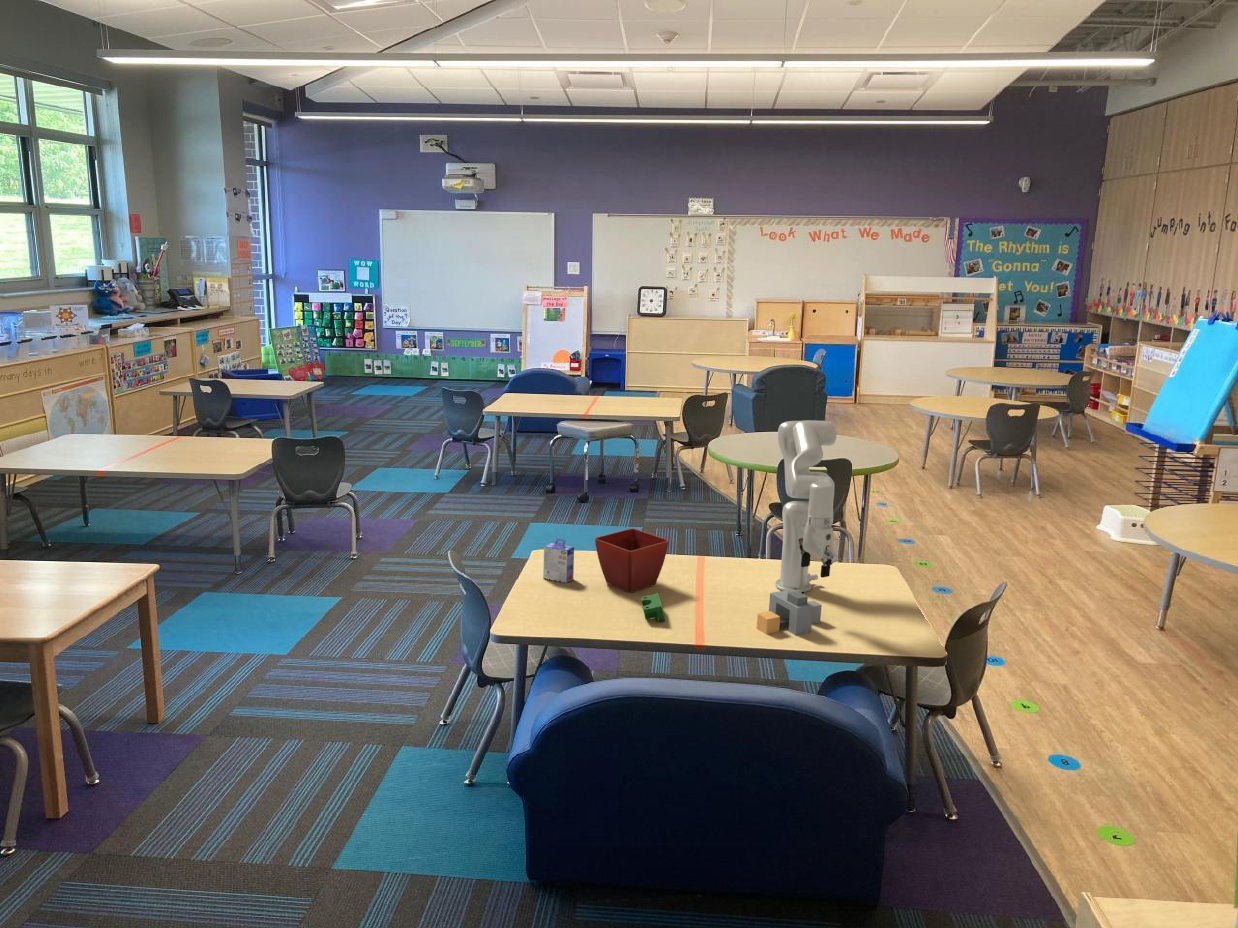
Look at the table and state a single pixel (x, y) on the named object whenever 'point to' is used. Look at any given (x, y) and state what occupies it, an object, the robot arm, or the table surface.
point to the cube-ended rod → (772, 622)
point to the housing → (792, 610)
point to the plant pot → (631, 558)
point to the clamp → (652, 607)
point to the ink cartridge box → (558, 562)
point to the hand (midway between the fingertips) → (814, 571)
